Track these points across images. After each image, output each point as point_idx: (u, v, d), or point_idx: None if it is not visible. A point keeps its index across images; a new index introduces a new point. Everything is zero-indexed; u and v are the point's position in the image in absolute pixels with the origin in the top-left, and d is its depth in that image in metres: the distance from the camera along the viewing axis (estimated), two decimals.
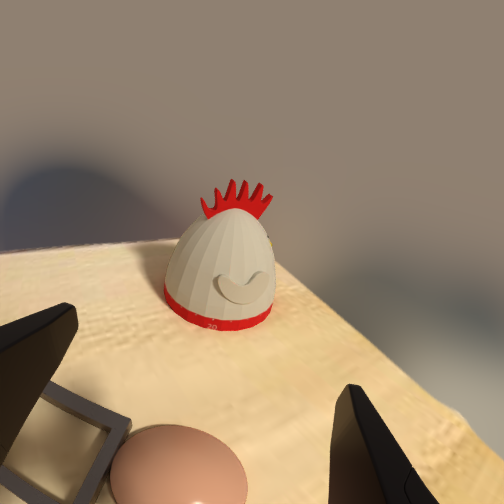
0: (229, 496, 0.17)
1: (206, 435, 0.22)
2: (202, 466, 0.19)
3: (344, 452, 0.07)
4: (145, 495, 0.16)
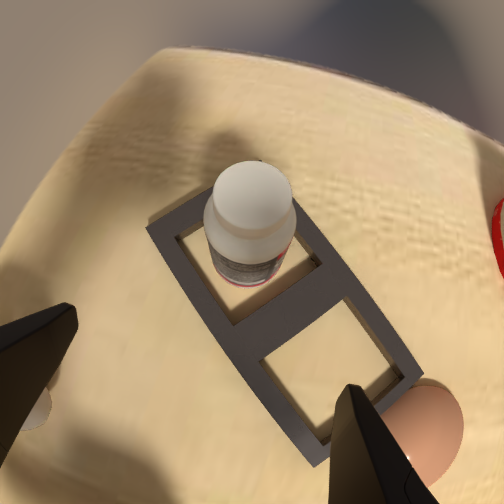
0: (434, 471, 0.18)
1: (459, 412, 0.20)
2: (439, 438, 0.19)
3: (344, 452, 0.07)
4: None
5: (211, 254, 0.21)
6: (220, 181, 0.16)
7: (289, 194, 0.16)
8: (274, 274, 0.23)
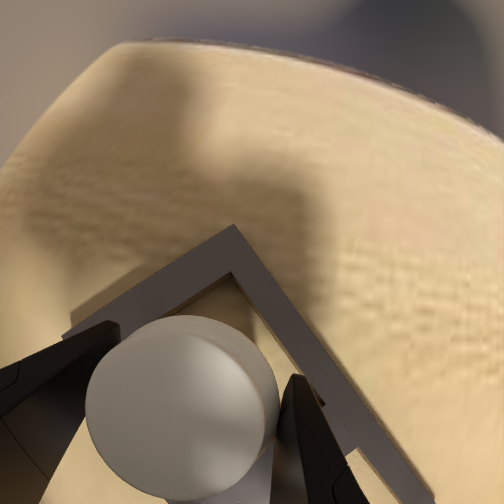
0: None
1: None
2: None
3: (282, 444, 0.07)
4: None
5: None
6: (97, 386, 0.06)
7: (256, 430, 0.06)
8: None
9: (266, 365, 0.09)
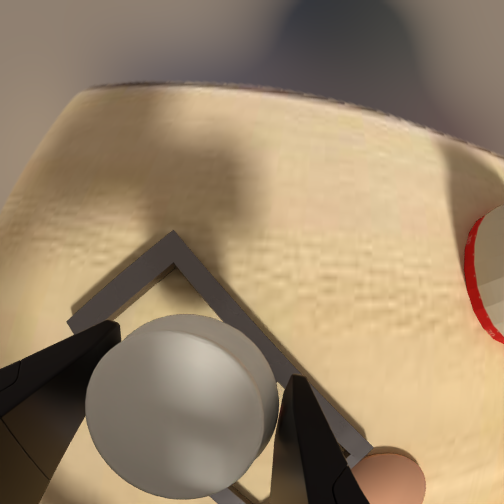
0: None
1: (419, 472, 0.18)
2: (397, 499, 0.17)
3: (283, 444, 0.07)
4: None
5: None
6: (97, 385, 0.06)
7: (256, 429, 0.06)
8: None
9: (265, 364, 0.09)
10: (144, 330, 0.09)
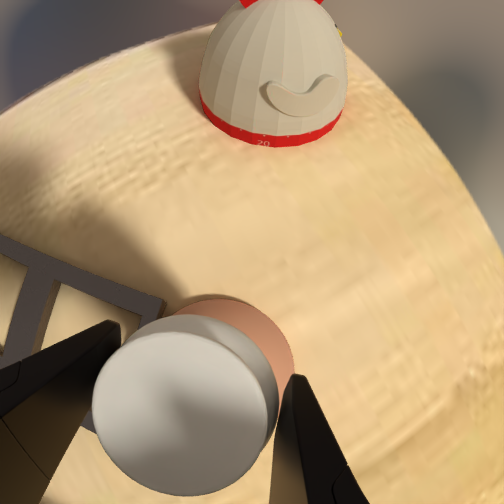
0: None
1: (252, 311, 0.21)
2: None
3: (282, 444, 0.07)
4: None
5: None
6: (104, 385, 0.06)
7: (260, 427, 0.06)
8: None
9: (266, 363, 0.09)
10: (147, 330, 0.09)
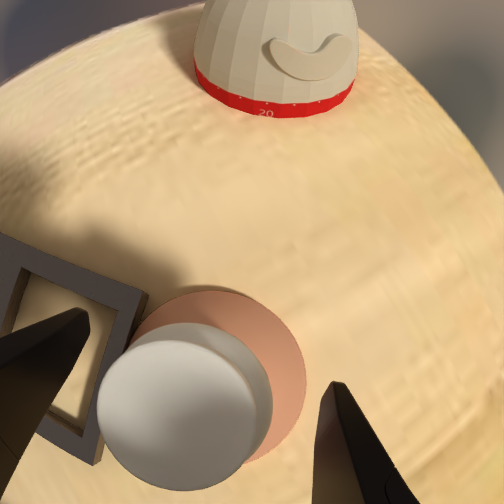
0: (279, 405, 0.15)
1: (254, 305, 0.17)
2: None
3: (327, 450, 0.07)
4: None
5: None
6: (108, 389, 0.07)
7: (249, 428, 0.06)
8: None
9: (260, 369, 0.09)
10: (149, 337, 0.09)
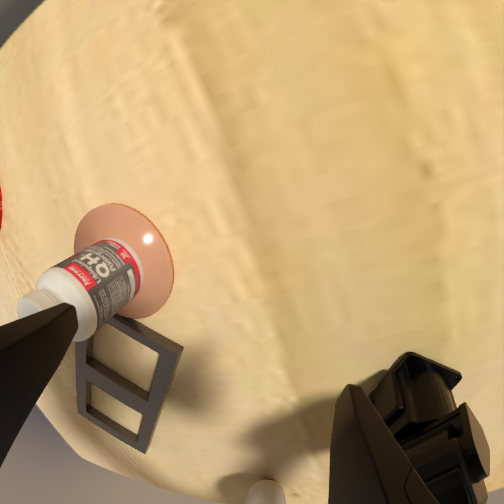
0: (127, 225, 0.23)
1: (78, 231, 0.24)
2: None
3: (344, 452, 0.07)
4: None
5: None
6: None
7: (30, 302, 0.15)
8: (127, 255, 0.22)
9: (43, 273, 0.17)
10: None
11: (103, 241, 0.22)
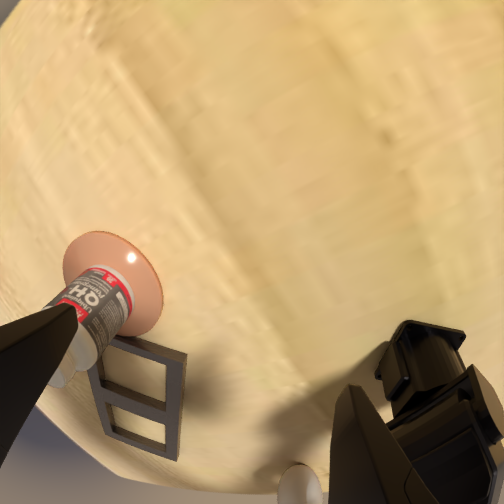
0: (108, 250, 0.23)
1: (64, 265, 0.25)
2: None
3: (344, 452, 0.07)
4: None
5: None
6: None
7: None
8: (113, 279, 0.22)
9: None
10: None
11: (88, 270, 0.23)
